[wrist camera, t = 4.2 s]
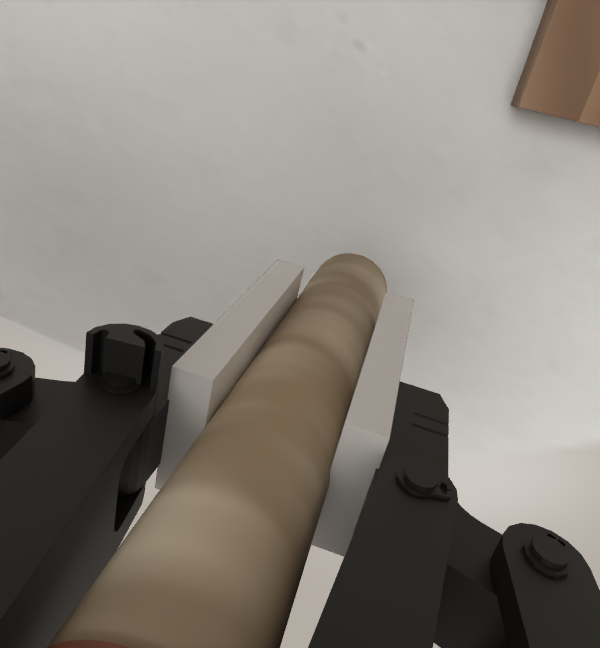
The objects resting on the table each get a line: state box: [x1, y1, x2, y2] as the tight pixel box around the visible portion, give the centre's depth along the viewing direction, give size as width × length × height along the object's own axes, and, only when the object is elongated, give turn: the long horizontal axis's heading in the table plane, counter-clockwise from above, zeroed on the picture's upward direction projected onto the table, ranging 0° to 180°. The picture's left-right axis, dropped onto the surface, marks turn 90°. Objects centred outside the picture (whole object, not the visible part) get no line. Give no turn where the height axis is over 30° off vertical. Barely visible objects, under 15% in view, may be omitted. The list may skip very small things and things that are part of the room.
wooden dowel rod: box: [47, 253, 387, 648], centre depth 12 cm, size 2×2×15 cm
